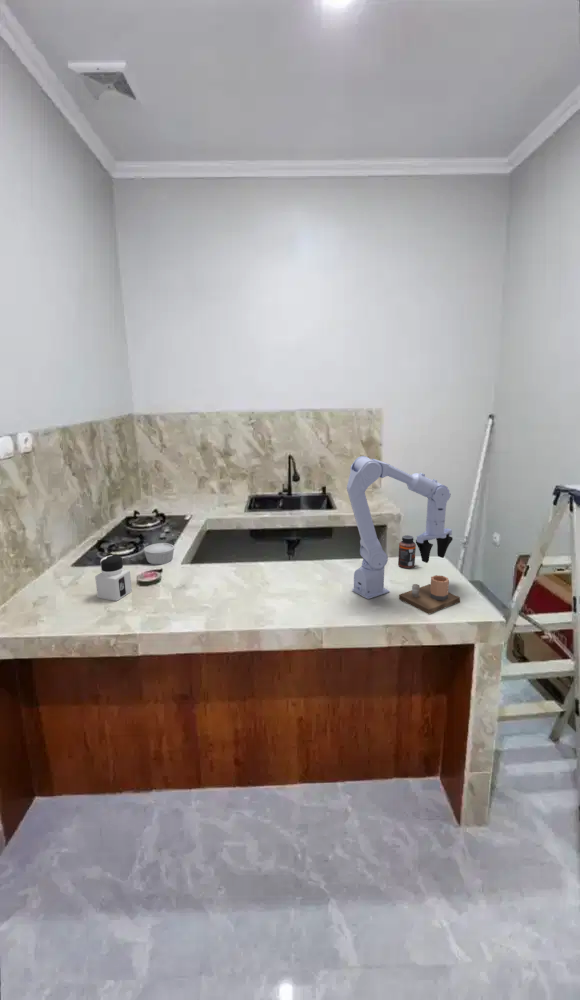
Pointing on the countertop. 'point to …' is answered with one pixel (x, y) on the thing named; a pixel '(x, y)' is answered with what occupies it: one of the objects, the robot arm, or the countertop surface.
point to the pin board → (426, 599)
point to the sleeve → (439, 587)
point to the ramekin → (159, 553)
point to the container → (113, 579)
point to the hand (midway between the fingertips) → (433, 559)
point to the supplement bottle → (407, 552)
